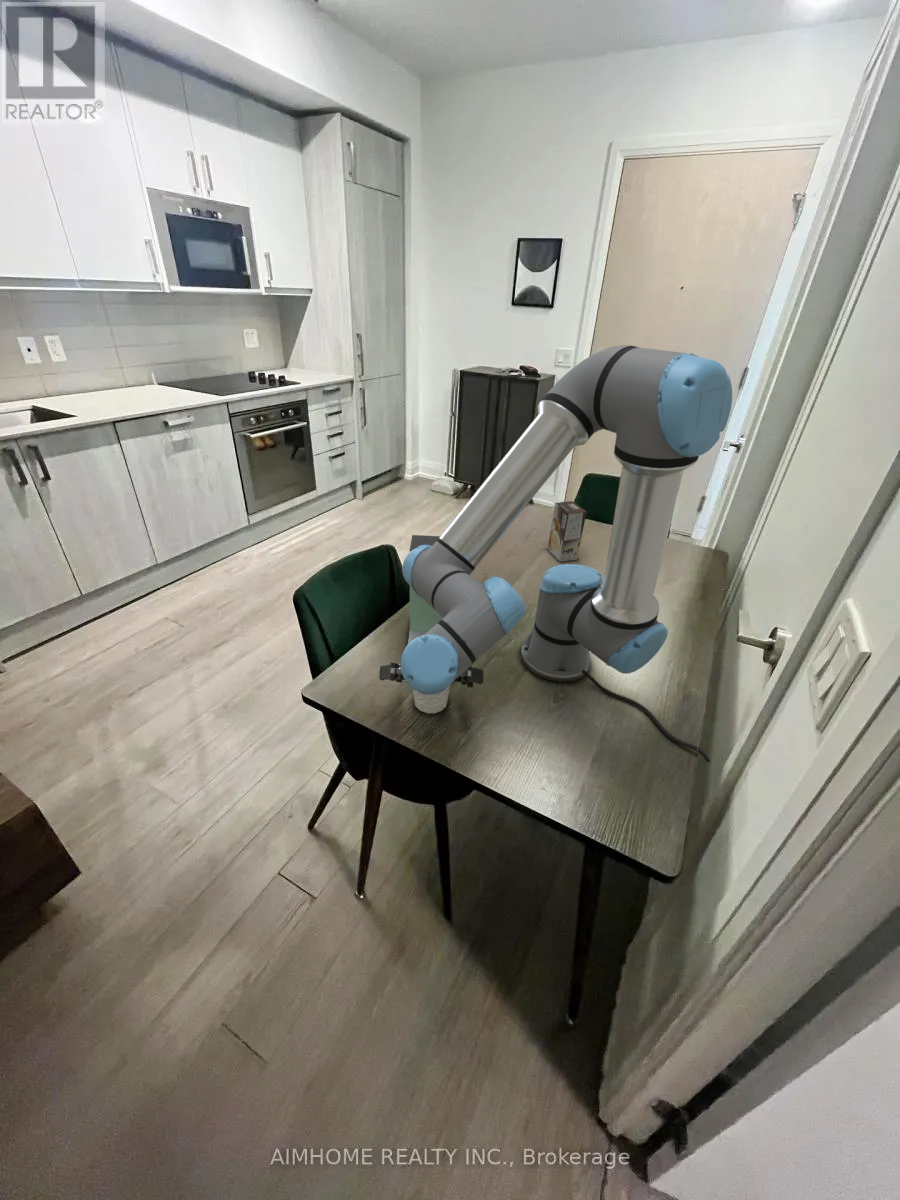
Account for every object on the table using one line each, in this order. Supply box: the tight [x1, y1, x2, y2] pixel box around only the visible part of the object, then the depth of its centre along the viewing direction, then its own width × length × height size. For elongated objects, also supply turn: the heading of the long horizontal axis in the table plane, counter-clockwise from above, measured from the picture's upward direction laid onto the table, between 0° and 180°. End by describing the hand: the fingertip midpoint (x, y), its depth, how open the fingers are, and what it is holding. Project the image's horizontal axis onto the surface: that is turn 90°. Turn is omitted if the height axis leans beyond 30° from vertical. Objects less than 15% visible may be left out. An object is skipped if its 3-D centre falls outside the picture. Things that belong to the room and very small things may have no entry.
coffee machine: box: [407, 534, 443, 645], centre depth 107 cm, size 20×12×23 cm, turn 0°
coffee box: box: [547, 500, 588, 562], centre depth 150 cm, size 9×6×16 cm
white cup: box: [412, 684, 451, 714], centre depth 95 cm, size 8×8×10 cm
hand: (432, 676), depth 98 cm, fingers open, 12 cm apart
